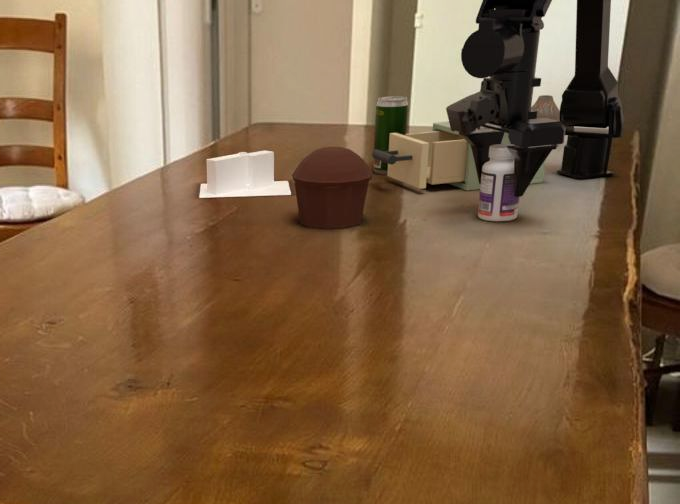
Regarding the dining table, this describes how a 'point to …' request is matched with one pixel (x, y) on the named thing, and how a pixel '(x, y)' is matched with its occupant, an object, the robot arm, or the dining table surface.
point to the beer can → (388, 125)
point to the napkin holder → (242, 176)
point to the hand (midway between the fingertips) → (500, 190)
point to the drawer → (425, 158)
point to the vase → (546, 108)
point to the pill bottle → (498, 186)
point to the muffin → (331, 188)
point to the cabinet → (471, 173)
